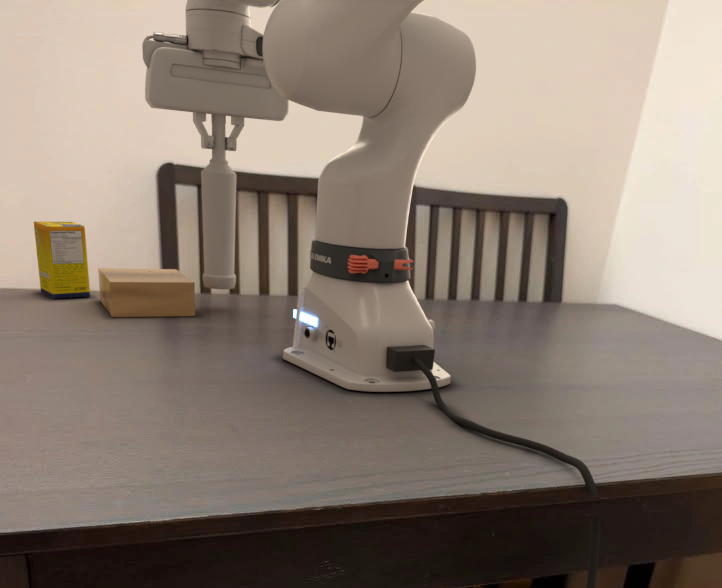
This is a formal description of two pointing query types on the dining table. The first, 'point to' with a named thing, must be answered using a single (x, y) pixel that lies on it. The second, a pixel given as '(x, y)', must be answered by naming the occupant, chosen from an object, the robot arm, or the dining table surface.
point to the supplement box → (62, 259)
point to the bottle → (218, 213)
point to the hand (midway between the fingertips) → (219, 149)
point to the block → (146, 292)
